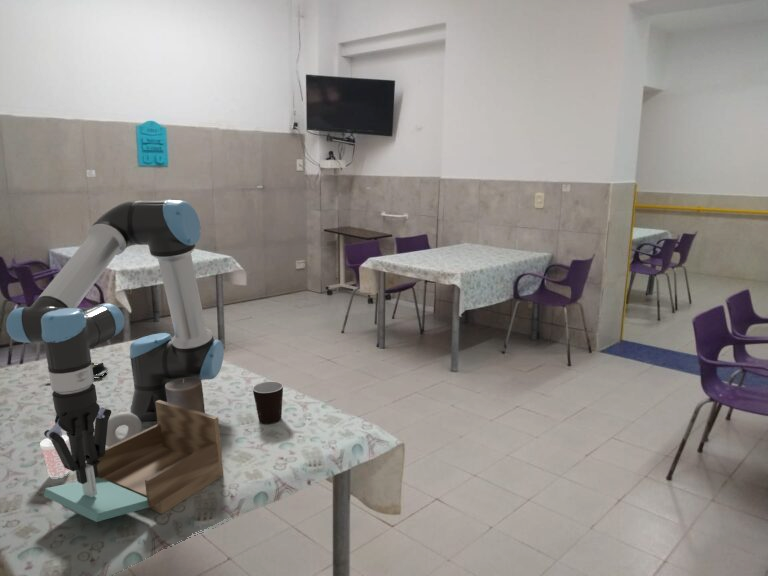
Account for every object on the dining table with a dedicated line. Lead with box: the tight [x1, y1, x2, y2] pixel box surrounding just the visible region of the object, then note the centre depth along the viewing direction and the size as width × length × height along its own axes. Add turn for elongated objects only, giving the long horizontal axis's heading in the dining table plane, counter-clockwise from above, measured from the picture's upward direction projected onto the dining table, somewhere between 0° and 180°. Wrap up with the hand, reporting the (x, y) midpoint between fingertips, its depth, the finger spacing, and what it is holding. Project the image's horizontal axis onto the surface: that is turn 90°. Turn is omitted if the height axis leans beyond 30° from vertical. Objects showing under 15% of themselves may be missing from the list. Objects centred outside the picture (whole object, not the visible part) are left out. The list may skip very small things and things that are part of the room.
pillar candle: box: [165, 377, 206, 413], centre depth 159 cm, size 10×10×15 cm
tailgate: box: [43, 477, 150, 523], centre depth 119 cm, size 18×3×12 cm
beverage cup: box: [39, 420, 71, 477], centre depth 136 cm, size 6×6×14 cm
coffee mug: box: [252, 380, 284, 425], centre depth 165 cm, size 12×9×10 cm
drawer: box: [96, 400, 224, 515], centre depth 131 cm, size 21×20×15 cm
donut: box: [106, 411, 143, 447], centre depth 149 cm, size 10×4×10 cm, turn 129°
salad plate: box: [91, 361, 108, 377], centre depth 202 cm, size 19×18×5 cm
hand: (90, 494), depth 117 cm, fingers closed
